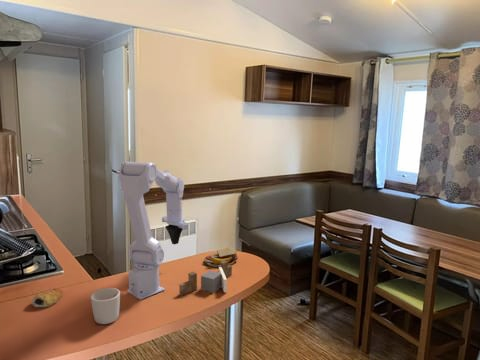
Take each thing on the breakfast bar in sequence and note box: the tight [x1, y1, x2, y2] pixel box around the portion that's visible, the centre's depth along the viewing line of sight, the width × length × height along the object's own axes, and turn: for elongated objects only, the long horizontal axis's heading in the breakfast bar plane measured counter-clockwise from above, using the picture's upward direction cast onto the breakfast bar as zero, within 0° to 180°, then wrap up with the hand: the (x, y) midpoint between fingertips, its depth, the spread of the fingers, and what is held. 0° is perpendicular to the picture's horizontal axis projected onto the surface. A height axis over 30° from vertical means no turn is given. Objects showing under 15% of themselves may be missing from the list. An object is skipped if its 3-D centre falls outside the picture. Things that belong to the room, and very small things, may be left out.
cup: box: [90, 287, 121, 325], centre depth 108 cm, size 11×8×8 cm
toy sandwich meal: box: [203, 246, 238, 268], centre depth 149 cm, size 12×14×5 cm
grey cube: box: [200, 270, 222, 294], centre depth 126 cm, size 5×5×5 cm
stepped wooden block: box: [179, 260, 233, 296], centre depth 129 cm, size 22×2×6 cm, turn 135°
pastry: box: [30, 287, 64, 308], centre depth 118 cm, size 9×7×4 cm
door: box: [218, 265, 228, 293], centre depth 128 cm, size 11×1×5 cm, turn 13°
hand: (175, 243), depth 143 cm, fingers closed
